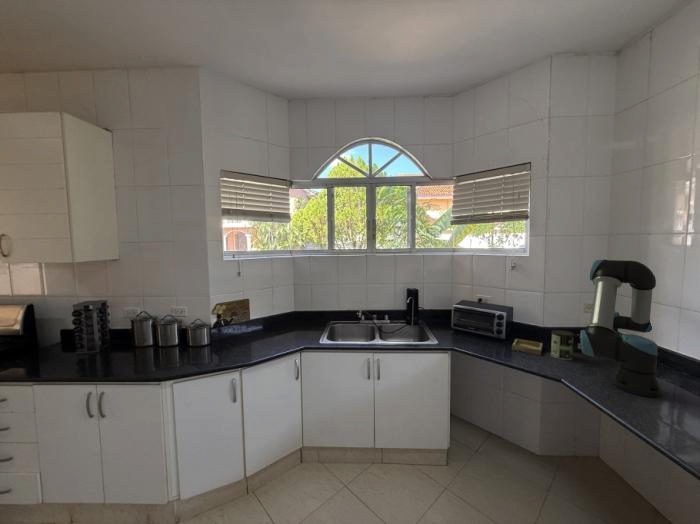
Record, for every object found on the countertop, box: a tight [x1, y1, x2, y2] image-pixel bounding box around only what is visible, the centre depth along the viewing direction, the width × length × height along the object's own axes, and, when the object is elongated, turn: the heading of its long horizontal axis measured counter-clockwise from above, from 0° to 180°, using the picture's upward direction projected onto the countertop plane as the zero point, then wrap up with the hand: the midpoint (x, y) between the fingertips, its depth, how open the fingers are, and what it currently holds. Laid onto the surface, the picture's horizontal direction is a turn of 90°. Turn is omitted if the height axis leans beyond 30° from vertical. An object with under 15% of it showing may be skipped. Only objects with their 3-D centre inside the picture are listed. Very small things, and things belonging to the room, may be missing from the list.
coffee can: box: [550, 329, 575, 361], centre depth 169 cm, size 10×10×14 cm
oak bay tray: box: [511, 338, 543, 356], centre depth 182 cm, size 14×14×3 cm
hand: (566, 342), depth 171 cm, fingers open, 13 cm apart
